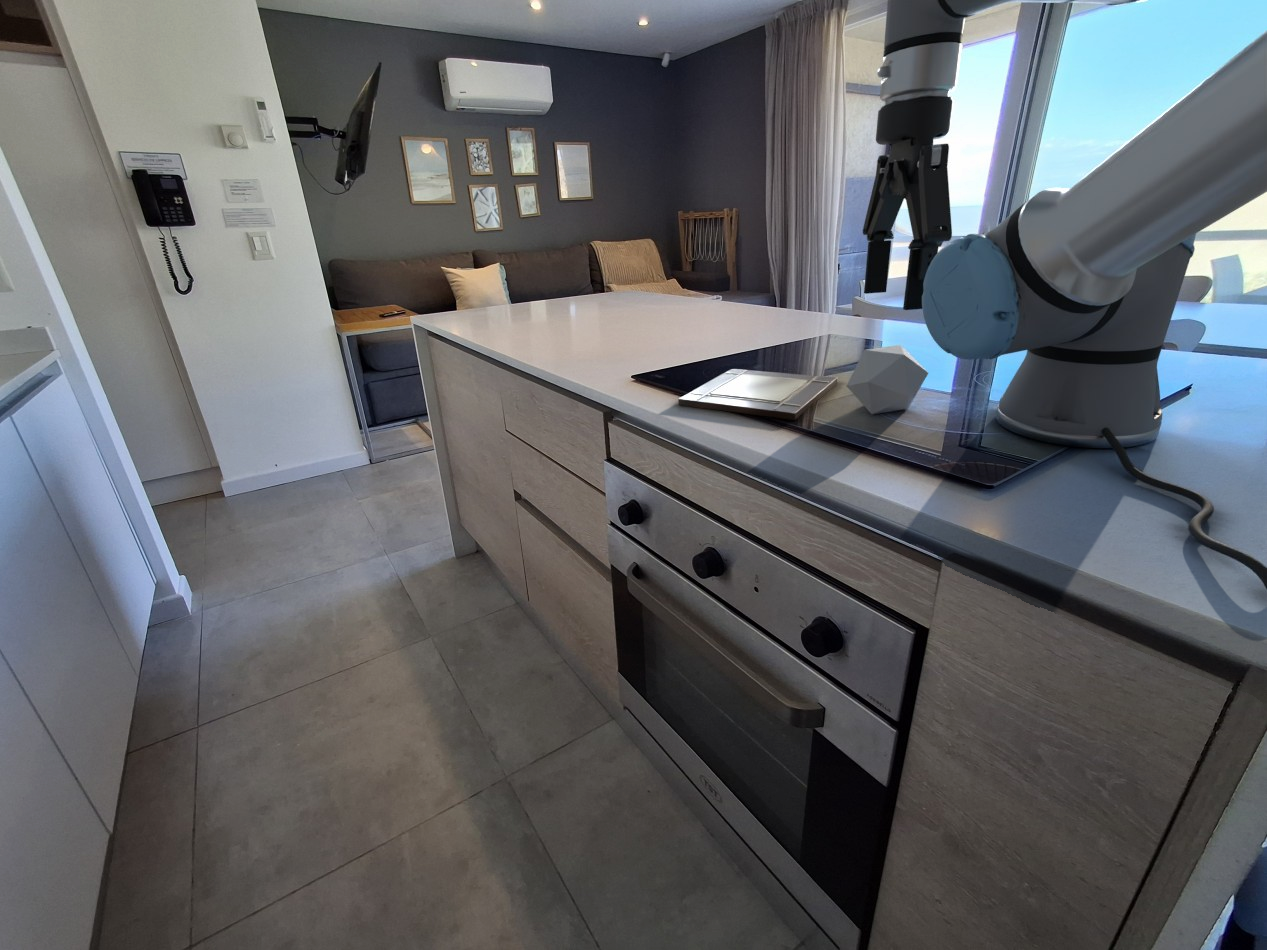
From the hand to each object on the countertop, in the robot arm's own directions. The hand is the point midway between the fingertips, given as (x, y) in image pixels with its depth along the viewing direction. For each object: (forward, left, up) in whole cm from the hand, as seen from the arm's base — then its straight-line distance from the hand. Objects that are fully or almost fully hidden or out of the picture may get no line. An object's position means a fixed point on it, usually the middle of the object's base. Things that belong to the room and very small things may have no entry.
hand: (893, 300), depth 71 cm
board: (+10, +15, -14) cm, 23 cm away
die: (0, 0, -14) cm, 14 cm away
